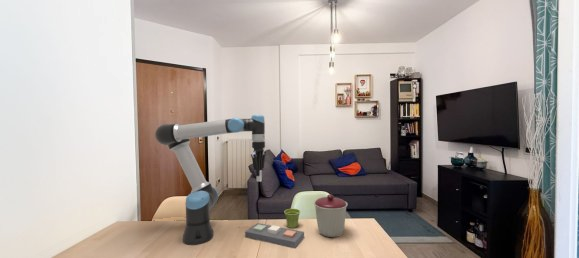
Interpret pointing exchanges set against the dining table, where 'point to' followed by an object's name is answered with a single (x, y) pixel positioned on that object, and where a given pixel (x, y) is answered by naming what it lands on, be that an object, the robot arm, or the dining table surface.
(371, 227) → the dining table surface
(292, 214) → the plant pot
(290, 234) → the terracotta key
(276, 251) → the dining table surface
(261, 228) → the sage key
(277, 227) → the cream key
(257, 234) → the keypad
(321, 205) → the canister
